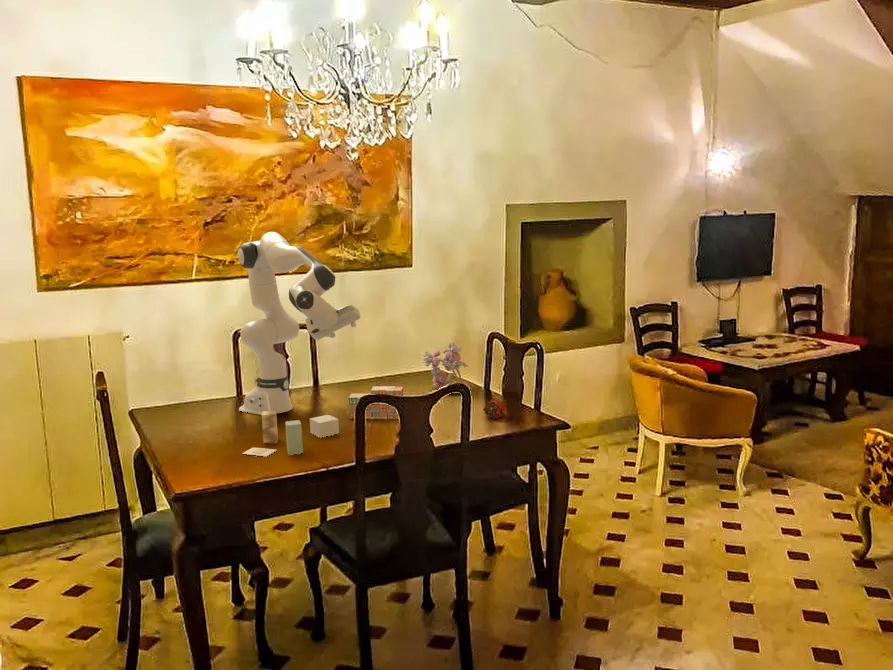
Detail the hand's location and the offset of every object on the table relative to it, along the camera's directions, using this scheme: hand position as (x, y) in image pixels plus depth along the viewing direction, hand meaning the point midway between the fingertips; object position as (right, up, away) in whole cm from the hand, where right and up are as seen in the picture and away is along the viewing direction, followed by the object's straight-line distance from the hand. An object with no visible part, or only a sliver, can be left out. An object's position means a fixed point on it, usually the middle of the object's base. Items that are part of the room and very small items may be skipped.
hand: (344, 330), depth 332 cm
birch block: (-26, -41, -12) cm, 50 cm away
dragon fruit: (+59, -35, +10) cm, 69 cm away
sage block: (-14, -44, -26) cm, 53 cm away
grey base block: (-7, -39, -5) cm, 40 cm away
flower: (+39, -27, +52) cm, 71 cm away
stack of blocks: (+12, -35, +15) cm, 40 cm away
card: (-27, -44, -26) cm, 58 cm away
